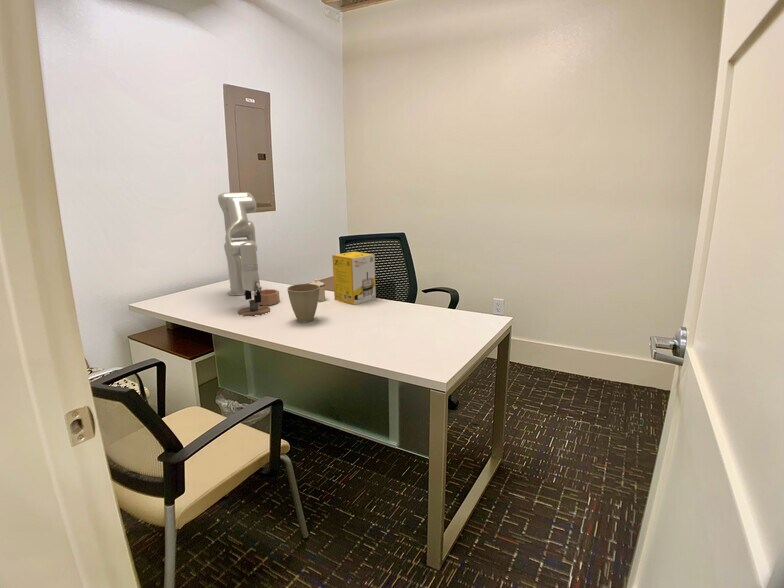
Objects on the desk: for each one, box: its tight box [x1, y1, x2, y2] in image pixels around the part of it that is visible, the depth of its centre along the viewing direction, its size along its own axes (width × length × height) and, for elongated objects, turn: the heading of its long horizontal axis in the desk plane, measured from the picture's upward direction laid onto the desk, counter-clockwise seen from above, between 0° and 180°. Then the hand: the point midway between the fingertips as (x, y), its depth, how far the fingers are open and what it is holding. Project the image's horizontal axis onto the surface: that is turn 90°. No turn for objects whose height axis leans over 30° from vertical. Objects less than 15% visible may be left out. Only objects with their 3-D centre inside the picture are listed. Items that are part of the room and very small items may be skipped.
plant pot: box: [286, 283, 320, 323], centre depth 207 cm, size 15×15×16 cm
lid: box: [237, 299, 271, 317], centre depth 222 cm, size 16×16×6 cm
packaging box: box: [331, 251, 377, 306], centre depth 240 cm, size 16×16×25 cm
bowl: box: [252, 289, 281, 306], centre depth 238 cm, size 12×12×6 cm
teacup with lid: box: [308, 278, 326, 303], centre depth 243 cm, size 12×9×12 cm
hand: (253, 300), depth 221 cm, fingers open, 9 cm apart
